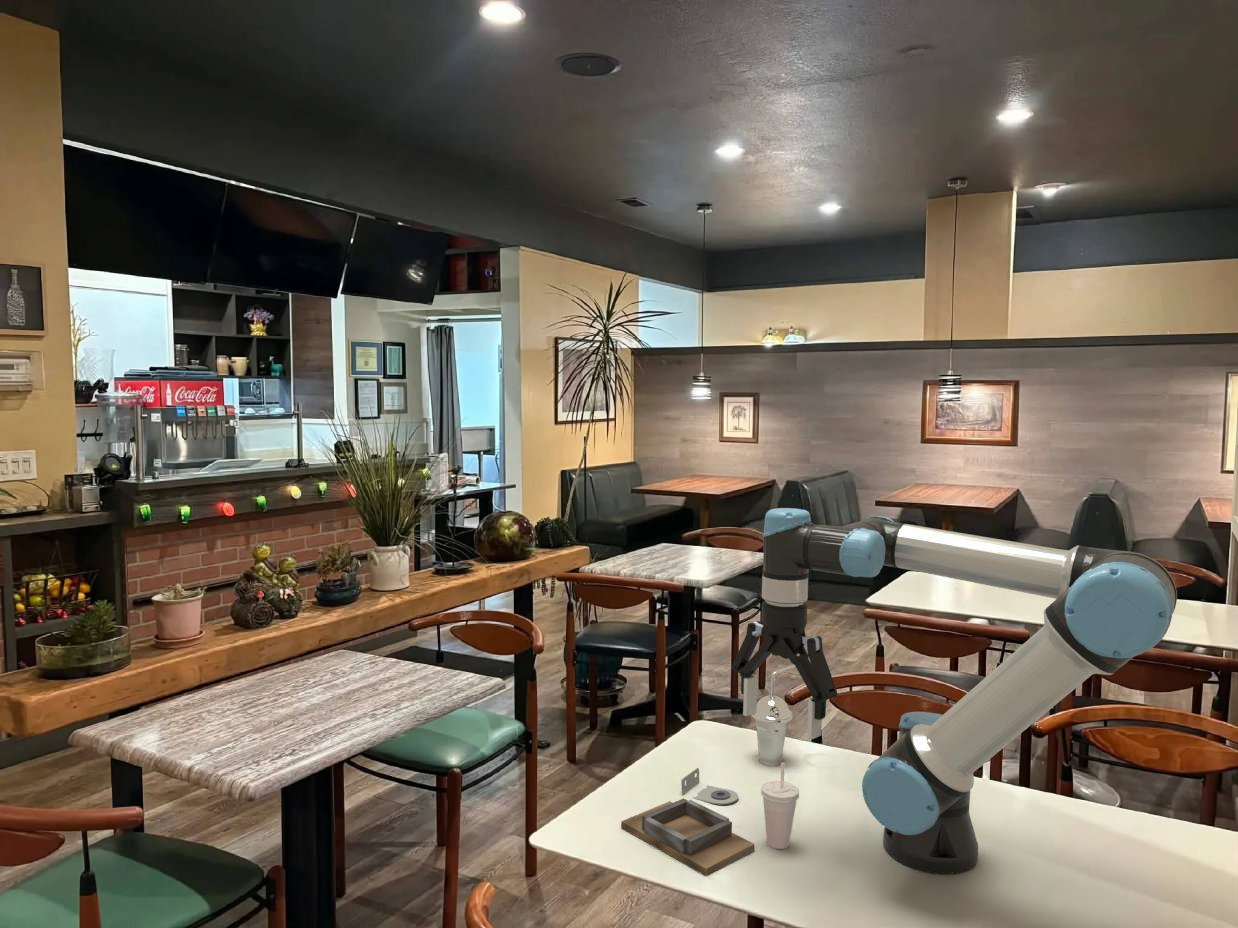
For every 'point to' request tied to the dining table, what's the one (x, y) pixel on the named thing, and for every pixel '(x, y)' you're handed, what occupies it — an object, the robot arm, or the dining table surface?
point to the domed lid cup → (772, 724)
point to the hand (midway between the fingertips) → (780, 725)
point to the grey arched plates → (708, 791)
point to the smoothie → (779, 810)
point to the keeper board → (690, 835)
